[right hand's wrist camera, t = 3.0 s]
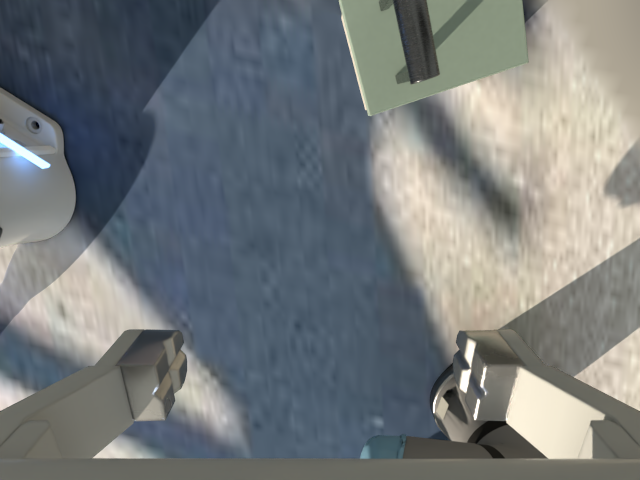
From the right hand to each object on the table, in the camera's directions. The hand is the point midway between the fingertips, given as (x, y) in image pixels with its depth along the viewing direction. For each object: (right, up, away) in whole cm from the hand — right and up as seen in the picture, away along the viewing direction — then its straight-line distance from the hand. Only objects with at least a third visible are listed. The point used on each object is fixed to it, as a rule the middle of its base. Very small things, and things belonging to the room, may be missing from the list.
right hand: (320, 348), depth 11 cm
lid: (+9, +20, +17) cm, 28 cm away
